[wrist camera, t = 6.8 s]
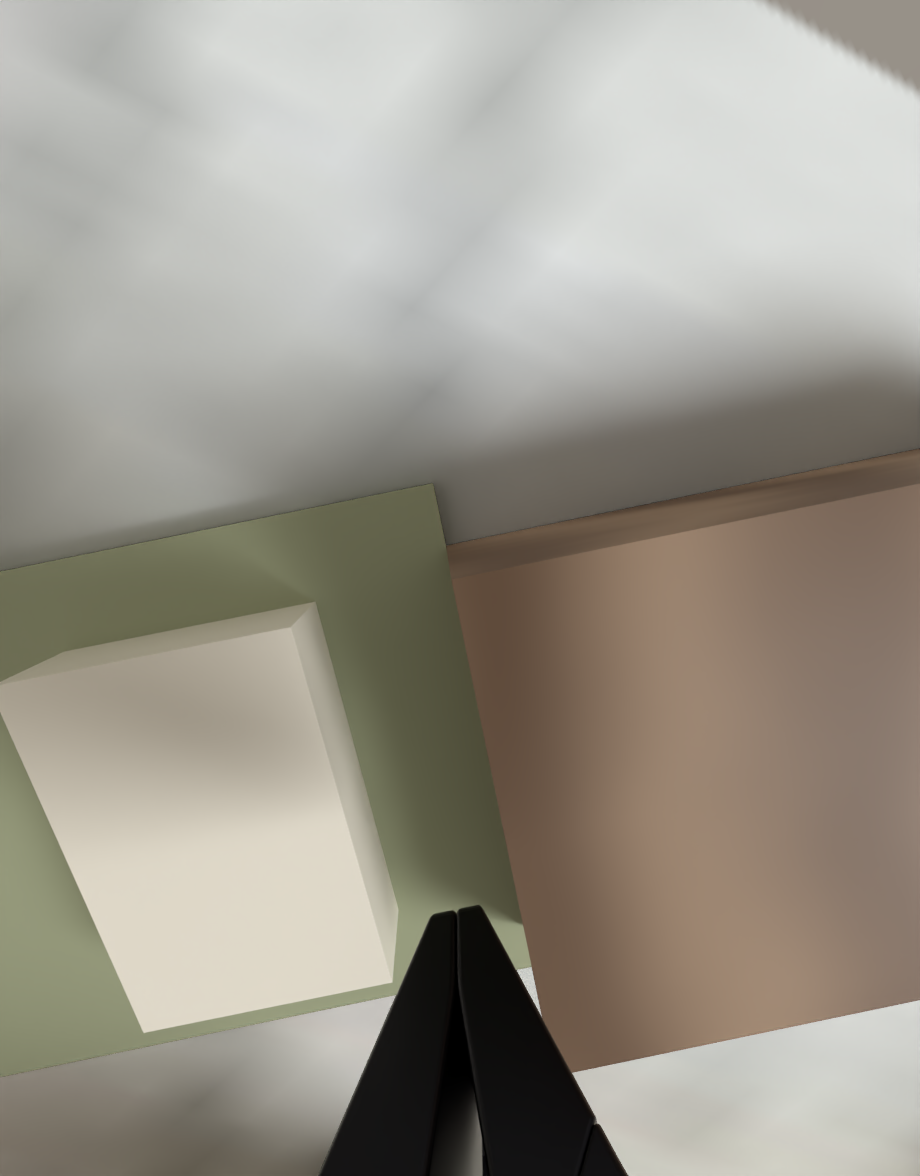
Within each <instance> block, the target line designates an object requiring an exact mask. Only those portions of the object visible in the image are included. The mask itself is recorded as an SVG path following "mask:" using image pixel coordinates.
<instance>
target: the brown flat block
mask: <svg viewBox="0 0 920 1176" xmlns="http://www.w3.org/2000/svg"><path fill="white" fill-rule="evenodd" d="M446 549H447V555H448V562H449V568H450V575H451V581H452V586H453V590H454V595H455V600H456V605H457V610H458V614H459V619H460V624H461V629H462V634H463V639H464V643H465V648H466V653H467V658H468V663H469V667H470V672H471V677H472V682H473V687H474V691H475V696H476V701H477V706H478V711H479V716H480V720H481V725H482V730H483V735H484V740H485V744H486V749H487V754H488V759H489V764H490V769H491V773H492V778H493V783H494V788H495V793H496V797H497V802H498V807H499V812H500V817H501V821H502V826H503V831H504V836H505V841H506V846H507V850H508V855H509V860H510V865H511V870H512V874H513V879H514V884H515V889H516V894H517V899H518V903H519V908H520V913H521V918H522V923H523V927H524V932H525V937H526V942H527V947H528V951H529V956H530V961H531V966H532V971H533V976H534V980H535V985H536V990H537V995H538V1000H539V1004H540V1009H541V1014H542V1019H543V1021H544V1022H545V1024H546V1026H547V1028H548V1030H549V1032H550V1033H551V1035H552V1037H553V1039H554V1041H555V1043H556V1045H557V1046H558V1048H559V1050H560V1052H561V1054H562V1056H563V1058H564V1059H565V1061H566V1063H567V1065H568V1067H569V1069H570V1071H571V1072H572V1073H573V1072H577V1071H582V1070H587V1069H592V1068H597V1067H601V1066H606V1065H611V1064H616V1063H620V1062H625V1061H630V1060H635V1059H640V1058H644V1057H649V1056H654V1055H659V1054H664V1053H668V1052H673V1051H678V1050H683V1049H687V1048H692V1047H697V1046H702V1045H707V1044H711V1043H716V1042H721V1041H726V1040H731V1039H735V1038H740V1037H745V1036H750V1035H755V1034H759V1033H764V1032H769V1031H774V1030H778V1029H783V1028H788V1027H793V1026H798V1025H802V1024H807V1023H812V1022H817V1021H822V1020H826V1019H831V1018H836V1017H841V1016H845V1015H850V1014H855V1013H860V1012H865V1011H869V1010H874V1009H879V1008H884V1007H889V1006H893V1005H898V1004H903V1003H908V1002H912V1001H917V1000H920V449H915V450H910V451H905V452H900V453H895V454H890V455H886V456H881V457H876V458H871V459H866V460H861V461H856V462H851V463H846V464H842V465H837V466H832V467H827V468H822V469H817V470H812V471H807V472H803V473H798V474H793V475H788V476H783V477H778V478H773V479H768V480H763V481H759V482H754V483H749V484H744V485H739V486H734V487H729V488H724V489H720V490H715V491H710V492H705V493H700V494H695V495H690V496H685V497H680V498H676V499H671V500H666V501H661V502H656V503H651V504H646V505H641V506H637V507H632V508H627V509H622V510H617V511H612V512H607V513H602V514H598V515H593V516H588V517H583V518H578V519H573V520H568V521H563V522H558V523H554V524H549V525H544V526H539V527H534V528H529V529H524V530H519V531H515V532H510V533H505V534H500V535H495V536H490V537H485V538H480V539H475V540H471V541H466V542H461V543H456V544H451V545H446Z"/></svg>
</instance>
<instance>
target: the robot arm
mask: <svg viewBox="0 0 920 1176" xmlns="http://www.w3.org/2000/svg"><path fill="white" fill-rule="evenodd" d="M319 1176H628V1175H627V1173H626V1171H625V1169H624V1168H623V1166H622V1164H621V1162H620V1161H619V1159H618V1157H617V1155H616V1153H615V1151H614V1150H613V1148H612V1146H611V1144H610V1142H609V1140H608V1139H607V1137H606V1135H605V1133H604V1131H603V1129H602V1127H601V1126H600V1125H599V1124H597V1121H596V1117H595V1115H594V1113H593V1111H592V1110H591V1108H590V1106H589V1104H588V1102H587V1100H586V1098H585V1097H584V1095H583V1093H582V1091H581V1089H580V1087H579V1085H578V1084H577V1082H576V1080H575V1078H574V1076H573V1074H572V1072H571V1071H570V1069H569V1067H568V1065H567V1063H566V1061H565V1059H564V1058H563V1056H562V1054H561V1052H560V1050H559V1048H558V1046H557V1045H556V1043H555V1041H554V1039H553V1037H552V1035H551V1033H550V1032H549V1030H548V1028H547V1026H546V1024H545V1022H544V1021H543V1019H542V1017H541V1015H540V1013H539V1011H538V1009H537V1008H536V1006H535V1004H534V1002H533V1000H532V998H531V996H530V995H529V993H528V991H527V989H526V987H525V985H524V983H523V982H522V980H521V978H520V976H519V974H518V972H517V970H516V969H515V967H514V965H513V963H512V961H511V959H510V957H509V956H508V954H507V952H506V950H505V948H504V946H503V944H502V943H501V941H500V939H499V937H498V935H497V933H496V931H495V930H494V928H493V926H492V924H491V922H490V920H489V919H488V917H487V915H486V913H485V911H484V909H483V908H482V907H481V906H480V905H474V906H469V907H464V908H460V909H459V910H458V911H457V913H456V912H455V911H453V910H450V911H445V912H440V913H435V914H433V915H432V916H431V917H430V918H429V920H428V923H427V925H426V927H425V930H424V932H423V934H422V937H421V939H420V941H419V943H418V946H417V948H416V950H415V953H414V955H413V957H412V960H411V962H410V964H409V967H408V969H407V971H406V974H405V976H404V978H403V980H402V983H401V985H400V987H399V990H398V992H397V994H396V997H395V999H394V1001H393V1004H392V1006H391V1008H390V1010H389V1013H388V1015H387V1017H386V1020H385V1022H384V1024H383V1027H382V1029H381V1031H380V1034H379V1036H378V1038H377V1041H376V1043H375V1045H374V1047H373V1050H372V1052H371V1054H370V1057H369V1059H368V1061H367V1064H366V1066H365V1068H364V1071H363V1073H362V1075H361V1078H360V1080H359V1082H358V1084H357V1087H356V1089H355V1091H354V1094H353V1096H352V1098H351V1101H350V1103H349V1105H348V1108H347V1110H346V1112H345V1114H344V1117H343V1119H342V1121H341V1124H340V1126H339V1128H338V1131H337V1133H336V1135H335V1138H334V1140H333V1142H332V1145H331V1147H330V1149H329V1151H328V1154H327V1156H326V1158H325V1161H324V1163H323V1165H322V1168H321V1170H320V1172H319Z"/></svg>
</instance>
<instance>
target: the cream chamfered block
mask: <svg viewBox="0 0 920 1176" xmlns="http://www.w3.org/2000/svg"><path fill="white" fill-rule="evenodd" d="M0 713H1V715H2V718H3V720H4V722H5V724H6V727H7V729H8V731H9V733H10V735H11V738H12V740H13V742H14V744H15V747H16V749H17V751H18V753H19V756H20V758H21V760H22V762H23V765H24V767H25V769H26V771H27V773H28V776H29V778H30V780H31V782H32V785H33V787H34V789H35V791H36V794H37V796H38V798H39V800H40V803H41V805H42V807H43V809H44V811H45V814H46V816H47V818H48V820H49V823H50V825H51V827H52V829H53V832H54V834H55V836H56V838H57V841H58V843H59V845H60V847H61V849H62V852H63V854H64V856H65V858H66V861H67V863H68V865H69V867H70V870H71V872H72V874H73V876H74V879H75V881H76V883H77V885H78V887H79V890H80V892H81V894H82V896H83V899H84V901H85V903H86V905H87V908H88V910H89V912H90V914H91V917H92V919H93V921H94V923H95V925H96V928H97V930H98V932H99V934H100V937H101V939H102V941H103V943H104V946H105V948H106V950H107V952H108V955H109V957H110V959H111V961H112V963H113V966H114V968H115V970H116V972H117V975H118V977H119V979H120V981H121V984H122V986H123V988H124V990H125V993H126V995H127V997H128V999H129V1001H130V1004H131V1006H132V1008H133V1010H134V1013H135V1015H136V1017H137V1019H138V1022H139V1024H140V1026H141V1028H142V1031H143V1033H146V1032H151V1031H156V1030H161V1029H166V1028H171V1027H176V1026H181V1025H185V1024H190V1023H195V1022H200V1021H205V1020H210V1019H215V1018H220V1017H225V1016H230V1015H235V1014H240V1013H245V1012H249V1011H254V1010H259V1009H264V1008H269V1007H274V1006H279V1005H284V1004H289V1003H294V1002H299V1001H304V1000H309V999H314V998H318V997H323V996H328V995H333V994H338V993H343V992H348V991H353V990H358V989H363V988H368V987H373V986H378V985H383V984H387V983H392V981H393V969H394V957H395V946H396V934H397V922H398V906H397V902H396V899H395V895H394V891H393V888H392V884H391V880H390V877H389V873H388V869H387V865H386V862H385V858H384V854H383V851H382V847H381V843H380V839H379V836H378V832H377V828H376V825H375V821H374V817H373V813H372V810H371V806H370V802H369V799H368V795H367V791H366V788H365V784H364V780H363V776H362V773H361V769H360V765H359V762H358V758H357V754H356V750H355V747H354V743H353V739H352V736H351V732H350V728H349V724H348V721H347V717H346V713H345V710H344V706H343V702H342V699H341V695H340V691H339V687H338V684H337V680H336V676H335V673H334V669H333V665H332V661H331V658H330V654H329V650H328V647H327V643H326V639H325V635H324V632H323V628H322V624H321V621H320V617H319V613H318V610H317V606H316V602H311V603H306V604H301V605H296V606H291V607H286V608H281V609H276V610H271V611H266V612H261V613H256V614H251V615H246V616H241V617H235V618H230V619H225V620H220V621H215V622H210V623H205V624H200V625H195V626H190V627H185V628H180V629H175V630H170V631H165V632H160V633H155V634H150V635H145V636H140V637H135V638H130V639H125V640H120V641H115V642H110V643H105V644H100V645H95V646H90V647H85V648H80V649H75V650H70V651H65V652H62V653H60V654H58V655H56V656H54V657H52V658H50V659H47V660H45V661H43V662H41V663H39V664H37V665H35V666H33V667H31V668H28V669H26V670H24V671H22V672H20V673H18V674H16V675H14V676H12V677H9V678H7V679H5V680H3V681H1V682H0Z"/></svg>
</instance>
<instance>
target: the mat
mask: <svg viewBox="0 0 920 1176" xmlns="http://www.w3.org/2000/svg"><path fill="white" fill-rule="evenodd" d="M311 602H316V606H317V610H318V613H319V617H320V621H321V624H322V628H323V632H324V635H325V639H326V643H327V647H328V650H329V654H330V658H331V661H332V665H333V669H334V673H335V676H336V680H337V684H338V687H339V691H340V695H341V699H342V702H343V706H344V710H345V713H346V717H347V721H348V724H349V728H350V732H351V736H352V739H353V743H354V747H355V750H356V754H357V758H358V762H359V765H360V769H361V773H362V776H363V780H364V784H365V788H366V791H367V795H368V799H369V802H370V806H371V810H372V813H373V817H374V821H375V825H376V828H377V832H378V836H379V839H380V843H381V847H382V851H383V854H384V858H385V862H386V865H387V869H388V873H389V877H390V880H391V884H392V888H393V891H394V895H395V899H396V902H397V906H398V922H397V934H396V946H395V957H394V969H393V981H392V983H387V984H383V985H378V986H373V987H368V988H363V989H358V990H353V991H348V992H343V993H338V994H333V995H328V996H323V997H318V998H314V999H309V1000H304V1001H299V1002H294V1003H289V1004H284V1005H279V1006H274V1007H269V1008H264V1009H259V1010H254V1011H249V1012H245V1013H240V1014H235V1015H230V1016H225V1017H220V1018H215V1019H210V1020H205V1021H200V1022H195V1023H190V1024H185V1025H181V1026H176V1027H171V1028H166V1029H161V1030H156V1031H151V1032H146V1033H143V1031H142V1028H141V1026H140V1024H139V1022H138V1019H137V1017H136V1015H135V1013H134V1010H133V1008H132V1006H131V1004H130V1001H129V999H128V997H127V995H126V993H125V990H124V988H123V986H122V984H121V981H120V979H119V977H118V975H117V972H116V970H115V968H114V966H113V963H112V961H111V959H110V957H109V955H108V952H107V950H106V948H105V946H104V943H103V941H102V939H101V937H100V934H99V932H98V930H97V928H96V925H95V923H94V921H93V919H92V917H91V914H90V912H89V910H88V908H87V905H86V903H85V901H84V899H83V896H82V894H81V892H80V890H79V887H78V885H77V883H76V881H75V879H74V876H73V874H72V872H71V870H70V867H69V865H68V863H67V861H66V858H65V856H64V854H63V852H62V849H61V847H60V845H59V843H58V841H57V838H56V836H55V834H54V832H53V829H52V827H51V825H50V823H49V820H48V818H47V816H46V814H45V811H44V809H43V807H42V805H41V803H40V800H39V798H38V796H37V794H36V791H35V789H34V787H33V785H32V782H31V780H30V778H29V776H28V773H27V771H26V769H25V767H24V765H23V762H22V760H21V758H20V756H19V753H18V751H17V749H16V747H15V744H14V742H13V740H12V738H11V735H10V733H9V731H8V729H7V727H6V724H5V722H4V720H3V718H2V715H1V713H0V1077H4V1076H9V1075H13V1074H18V1073H23V1072H28V1071H33V1070H38V1069H42V1068H47V1067H52V1066H57V1065H62V1064H66V1063H71V1062H76V1061H81V1060H86V1059H90V1058H95V1057H100V1056H105V1055H110V1054H114V1053H119V1052H124V1051H129V1050H134V1049H138V1048H143V1047H148V1046H153V1045H158V1044H162V1043H167V1042H172V1041H177V1040H182V1039H186V1038H191V1037H196V1036H201V1035H206V1034H211V1033H215V1032H220V1031H225V1030H230V1029H235V1028H239V1027H244V1026H249V1025H254V1024H259V1023H263V1022H268V1021H273V1020H278V1019H283V1018H287V1017H292V1016H297V1015H302V1014H307V1013H311V1012H316V1011H321V1010H326V1009H331V1008H335V1007H340V1006H345V1005H350V1004H355V1003H359V1002H364V1001H369V1000H374V999H379V998H384V997H388V996H393V995H396V994H397V992H398V990H399V987H400V985H401V983H402V980H403V978H404V976H405V974H406V971H407V969H408V967H409V964H410V962H411V960H412V957H413V955H414V953H415V950H416V948H417V946H418V943H419V941H420V939H421V937H422V934H423V932H424V930H425V927H426V925H427V923H428V920H429V918H430V917H431V916H432V915H433V914H435V913H440V912H445V911H450V910H453V911H455V912H456V913H457V911H458V910H459V909H460V908H464V907H469V906H474V905H480V906H481V907H482V908H483V909H484V911H485V913H486V915H487V917H488V919H489V920H490V922H491V924H492V926H493V928H494V930H495V931H496V933H497V935H498V937H499V939H500V941H501V943H502V944H503V946H504V948H505V950H506V952H507V954H508V956H509V957H510V959H511V961H512V963H513V965H514V967H515V969H516V970H518V969H523V968H528V967H532V966H531V961H530V956H529V951H528V947H527V942H526V937H525V932H524V927H523V923H522V918H521V913H520V908H519V903H518V899H517V894H516V889H515V884H514V879H513V874H512V870H511V865H510V860H509V855H508V850H507V846H506V841H505V836H504V831H503V826H502V821H501V817H500V812H499V807H498V802H497V797H496V793H495V788H494V783H493V778H492V773H491V769H490V764H489V759H488V754H487V749H486V744H485V740H484V735H483V730H482V725H481V720H480V716H479V711H478V706H477V701H476V696H475V691H474V687H473V682H472V677H471V672H470V667H469V663H468V658H467V653H466V648H465V643H464V639H463V634H462V629H461V624H460V619H459V614H458V610H457V605H456V600H455V595H454V590H453V586H452V581H451V575H450V568H449V562H448V555H447V549H446V543H445V538H444V533H443V529H442V524H441V519H440V514H439V509H438V504H437V500H436V495H435V490H434V485H433V483H431V484H426V485H421V486H416V487H411V488H406V489H401V490H397V491H392V492H387V493H382V494H377V495H372V496H367V497H362V498H357V499H352V500H348V501H343V502H338V503H333V504H328V505H323V506H318V507H313V508H308V509H304V510H299V511H294V512H289V513H284V514H279V515H274V516H269V517H264V518H259V519H255V520H250V521H245V522H240V523H235V524H230V525H225V526H220V527H215V528H211V529H206V530H201V531H196V532H191V533H186V534H181V535H176V536H171V537H167V538H162V539H157V540H152V541H147V542H142V543H137V544H132V545H127V546H122V547H118V548H113V549H108V550H103V551H98V552H93V553H88V554H83V555H78V556H74V557H69V558H64V559H59V560H54V561H49V562H44V563H39V564H34V565H29V566H25V567H20V568H15V569H10V570H5V571H0V682H1V681H3V680H5V679H7V678H9V677H12V676H14V675H16V674H18V673H20V672H22V671H24V670H26V669H28V668H31V667H33V666H35V665H37V664H39V663H41V662H43V661H45V660H47V659H50V658H52V657H54V656H56V655H58V654H60V653H62V652H65V651H70V650H75V649H80V648H85V647H90V646H95V645H100V644H105V643H110V642H115V641H120V640H125V639H130V638H135V637H140V636H145V635H150V634H155V633H160V632H165V631H170V630H175V629H180V628H185V627H190V626H195V625H200V624H205V623H210V622H215V621H220V620H225V619H230V618H235V617H241V616H246V615H251V614H256V613H261V612H266V611H271V610H276V609H281V608H286V607H291V606H296V605H301V604H306V603H311Z"/></svg>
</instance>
